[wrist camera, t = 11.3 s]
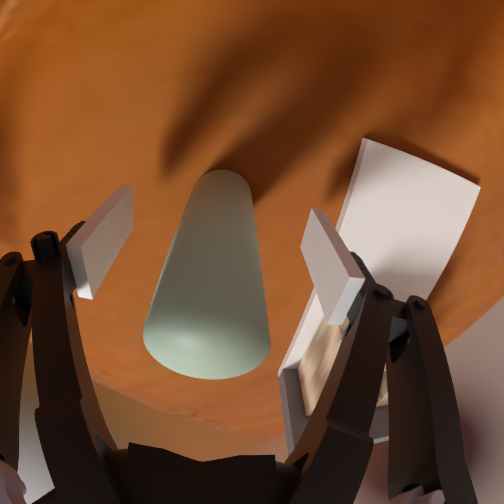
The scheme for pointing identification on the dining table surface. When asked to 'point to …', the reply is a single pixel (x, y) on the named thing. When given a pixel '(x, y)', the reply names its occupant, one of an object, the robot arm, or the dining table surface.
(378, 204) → the backstop
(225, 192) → the dowel
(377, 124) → the dining table surface
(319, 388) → the block
